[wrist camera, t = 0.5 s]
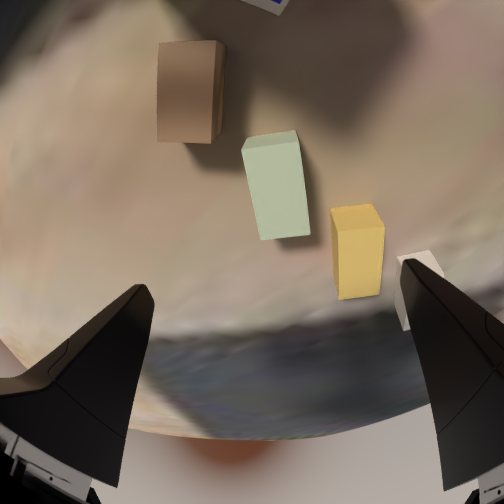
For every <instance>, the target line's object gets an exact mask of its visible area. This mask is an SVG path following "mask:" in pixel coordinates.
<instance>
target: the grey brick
mask: <svg viewBox="0 0 504 504" xmlns="http://www.w3.org/2000/svg"><path fill="white" fill-rule="evenodd" d="M410 258H415V259H417V260H419V261H420V262H421V263H423V264H424V265H426V266H427V267H429V268H430V269H432V270H433V271H434V272H436V273H437V274H439V275H440V276H441V277H443V278H444V273H443V271H442V270H441V268H440V266H439V265H438V263H437V262H436V260H435V258H434V257H433V255H432V254H431V252H430V251H429V250H427V251H422V252H418V253H413V254H408V255H404V256H399V257H397V272H396V291H395V305H394V306H395V308H396V311H397V314H398V317H399V320H400V322H401V325H402V328H403V331H406V330H410V326H409V322H408V317H407V313H406V308H405V303H404V299H403V295H402V290H401V286H400V275H401V269H402V263H403V260H404V259H410Z"/></svg>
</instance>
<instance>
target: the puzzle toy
mask: <svg viewBox="0 0 504 504" xmlns="http://www.w3.org/2000/svg"><path fill="white" fill-rule="evenodd" d="M241 1H244V2H246V3H249V4H252V5H254V6H257V7H259V8H262V9H264V10H267V11H269V12H271V13H274V14H276V15H278V16H280V14H281V13H282V11H283V10H284V8H285V6H286V5H287V3H288V2H289V0H241Z"/></svg>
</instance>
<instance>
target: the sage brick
mask: <svg viewBox="0 0 504 504" xmlns="http://www.w3.org/2000/svg"><path fill="white" fill-rule="evenodd" d="M241 152H242V156H243V161H244V165H245V170H246V174H247V179H248V184H249V188H250V193H251V198H252V202H253V207H254V212H255V216H256V221H257V226H258V230H259V235H260V240H268V239H277V238H285V237H294V236H303V235H310V226H309V216H308V207H307V199H306V191H305V183H304V175H303V167H302V160H301V153H300V146H299V141H298V137H297V134H296V131H295V130H294V131H286V132H279V133H272V134H265V135H259V136H253V137H247V139H246V141H245V143H244V145H243V147H242V149H241Z"/></svg>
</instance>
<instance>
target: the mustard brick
mask: <svg viewBox="0 0 504 504" xmlns="http://www.w3.org/2000/svg"><path fill="white" fill-rule="evenodd" d="M330 216H331V232H332V251H333V273H334V278H335V283H336V287H337V292H338V297H339V300H342V299H350V298H358V297H365V296H373V295H379V290H380V281H381V271H382V261H383V248H384V231H385V226H384V224H383V223H382V221H381V219H380V218H379V216H378V214H377V213H376V211H375V209H374V208H373V206H372V204H367V205H357V206H347V207H338V208H330Z"/></svg>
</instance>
